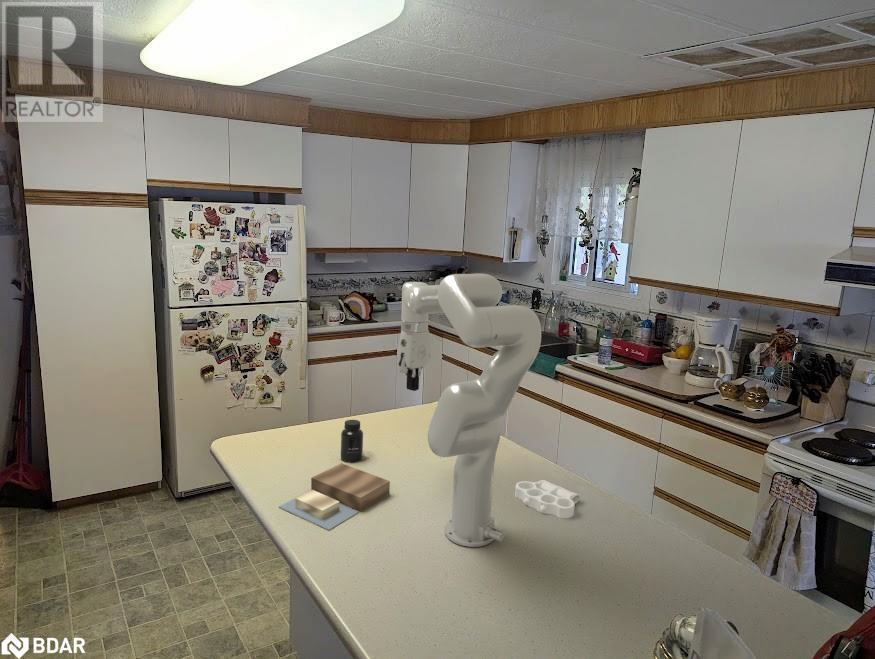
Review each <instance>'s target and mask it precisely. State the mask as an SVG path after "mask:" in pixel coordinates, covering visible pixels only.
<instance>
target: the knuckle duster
mask: <svg viewBox="0 0 875 659" xmlns="http://www.w3.org/2000/svg"><path fill="white" fill-rule="evenodd" d="M514 497H515V498H516V499H519V500H521V501H522V503H524V505H526V506H527V507H529V508H532V509H535V510H536V511H538V512H540V513H542V514H545V515H547V514H548V515H553V516H556V517H557V518H558V519H570V518H572V517H574V514H575V504H577V503H578V502H579V500H580V494H578V493H576V492H574V491H573V492H572V491H570V490H568V489H566V488H564V487H562V486H560V485H557V484H554V483H551V481H550V482H549V481H548V480H545V479H541V480H538V481H536V482H533V481H526V480H525V481H524V480H523V481H518V482H517V483H516V484H515V488H514Z"/></svg>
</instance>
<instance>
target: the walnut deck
mask: <svg viewBox="0 0 875 659" xmlns="http://www.w3.org/2000/svg"><path fill="white" fill-rule="evenodd" d="M310 478H311V479H310V480H311V482H310V484H311V485H310V487H311V488H310V491H311V490H314V491H317V492H319V493H321V494H324V495H326V496H328V497H330V498H333V499H335V500H337V501H339V503H340V504H342V505H345V506H347V507H350V508H353V509H354V510H357V511H359V513H360V512H362V510H363V511H365V510H366V509H367V507H368V508H369V507H371V506H372V505H374V504H376V503H377V502H379V501H381V500H382V498H383V499H384V498H386V497H387V495H388V496H389V495H390V487H391V486H390V485H391V484H390V483H391V481H390V480H387V479H385V478H382V477H379V476H378V475H374V474H371V473H369V472H366V471H364V470H361V469H358V468H356V467H353V466H350V465H348V464H345V463H341V462H340V463H339V464H337V465H334V466H333V467H331V468H328V469H327V470H324V471H323V472H321V473H318V474H316V475H315V476H314V475H313V476H312V477H310Z"/></svg>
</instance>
